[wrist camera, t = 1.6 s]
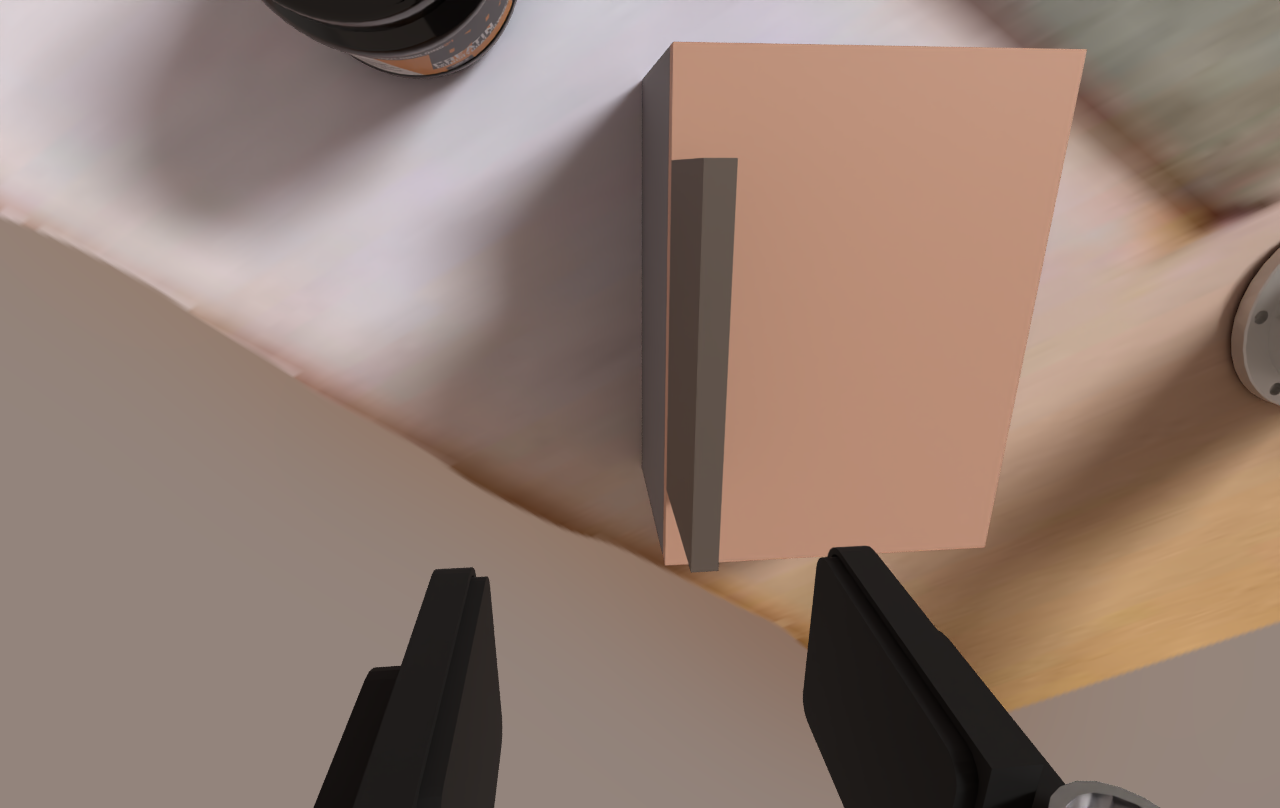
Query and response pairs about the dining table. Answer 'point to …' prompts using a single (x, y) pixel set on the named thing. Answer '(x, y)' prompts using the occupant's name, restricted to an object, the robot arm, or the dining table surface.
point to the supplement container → (402, 31)
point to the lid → (850, 289)
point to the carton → (654, 278)
